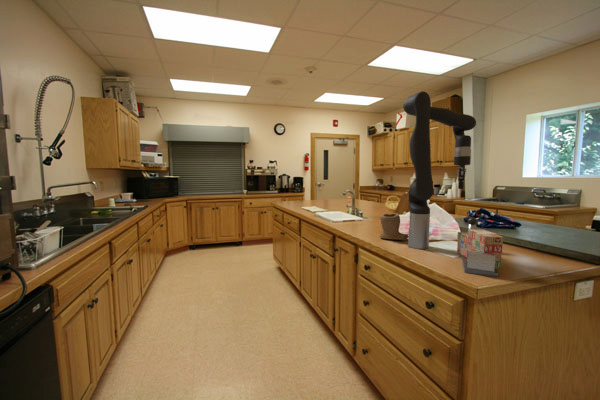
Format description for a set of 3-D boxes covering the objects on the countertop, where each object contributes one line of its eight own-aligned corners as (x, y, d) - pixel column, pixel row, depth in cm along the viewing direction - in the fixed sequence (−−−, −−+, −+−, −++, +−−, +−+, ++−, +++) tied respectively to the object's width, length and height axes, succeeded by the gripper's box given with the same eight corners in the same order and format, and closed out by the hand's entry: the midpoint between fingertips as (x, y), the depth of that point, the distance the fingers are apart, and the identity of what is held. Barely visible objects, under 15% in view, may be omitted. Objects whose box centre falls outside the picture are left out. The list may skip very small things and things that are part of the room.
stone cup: (376, 240, 146) (377, 213, 145) (381, 236, 156) (382, 211, 155) (405, 243, 138) (406, 215, 137) (408, 239, 149) (409, 213, 147)
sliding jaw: (463, 250, 118) (464, 221, 117) (461, 243, 131) (462, 216, 130) (484, 253, 114) (486, 222, 113) (480, 245, 128) (482, 217, 126)
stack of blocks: (456, 251, 118) (457, 225, 117) (471, 252, 117) (472, 225, 116) (482, 268, 97) (484, 235, 96) (501, 268, 96) (503, 236, 95)
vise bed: (464, 272, 96) (465, 252, 96) (459, 249, 127) (460, 234, 127) (497, 277, 92) (499, 256, 91) (484, 251, 123) (485, 236, 122)
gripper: (472, 154, 129) (470, 189, 131) (469, 156, 141) (467, 188, 142) (454, 155, 133) (452, 189, 134) (453, 157, 144) (452, 188, 146)
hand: (460, 188), depth 138 cm, fingers closed
